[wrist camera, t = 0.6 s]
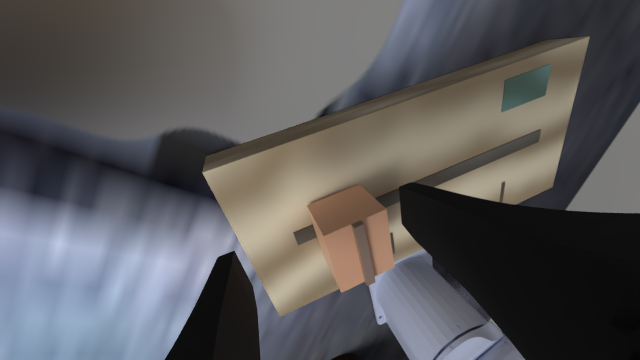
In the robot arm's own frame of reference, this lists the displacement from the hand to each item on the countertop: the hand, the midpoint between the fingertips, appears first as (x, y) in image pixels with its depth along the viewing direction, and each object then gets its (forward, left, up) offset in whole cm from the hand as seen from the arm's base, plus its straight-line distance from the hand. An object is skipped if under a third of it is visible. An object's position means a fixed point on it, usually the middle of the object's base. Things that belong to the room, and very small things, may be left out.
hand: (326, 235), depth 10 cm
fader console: (-5, -10, -10) cm, 15 cm away
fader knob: (-5, -2, -6) cm, 8 cm away
